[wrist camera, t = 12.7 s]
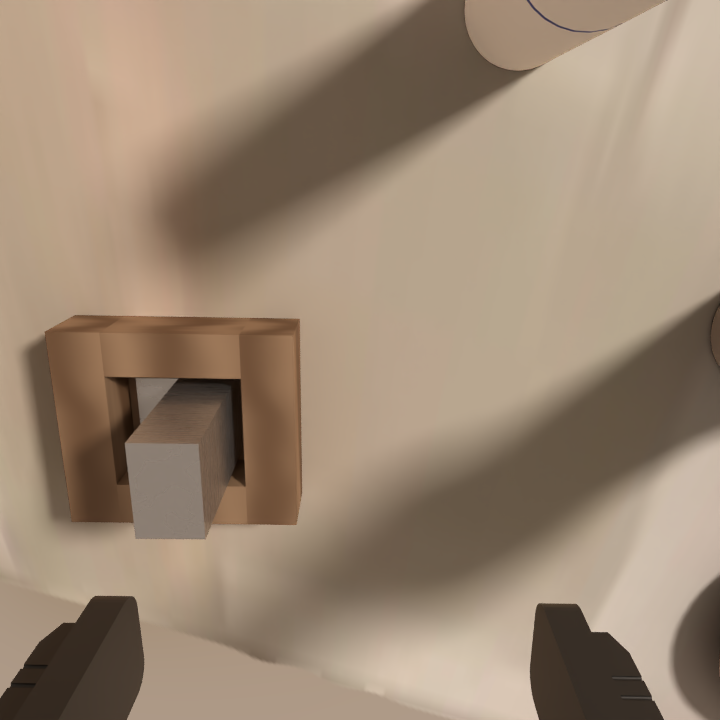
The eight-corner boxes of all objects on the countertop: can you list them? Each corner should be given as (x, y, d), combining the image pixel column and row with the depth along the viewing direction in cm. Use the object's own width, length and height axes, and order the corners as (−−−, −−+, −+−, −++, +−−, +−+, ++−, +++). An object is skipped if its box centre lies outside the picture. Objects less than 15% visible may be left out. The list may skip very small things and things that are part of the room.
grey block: (239, 372, 45) (198, 444, 34) (242, 447, 47) (205, 539, 36) (142, 371, 45) (69, 442, 34) (150, 446, 47) (83, 538, 36)
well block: (299, 318, 45) (293, 335, 40) (301, 492, 49) (296, 524, 45) (75, 315, 44) (44, 332, 40) (97, 489, 49) (71, 521, 44)
